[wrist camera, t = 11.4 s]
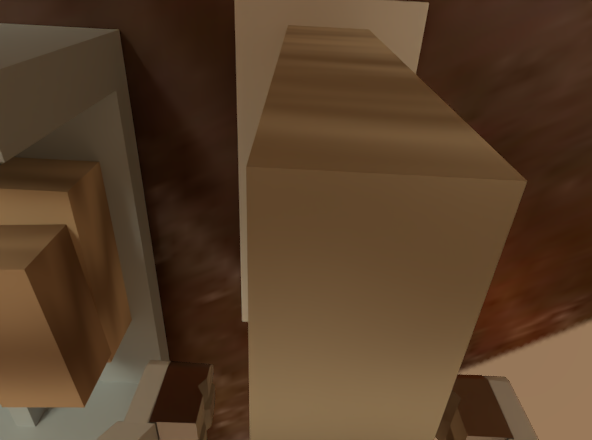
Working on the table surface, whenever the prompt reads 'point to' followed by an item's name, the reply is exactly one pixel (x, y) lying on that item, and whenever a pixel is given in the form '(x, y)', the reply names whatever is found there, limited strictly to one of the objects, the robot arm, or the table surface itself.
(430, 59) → the table surface
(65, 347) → the offcut
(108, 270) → the offcut
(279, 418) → the panel
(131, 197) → the rack
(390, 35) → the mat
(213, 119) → the table surface
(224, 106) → the table surface
